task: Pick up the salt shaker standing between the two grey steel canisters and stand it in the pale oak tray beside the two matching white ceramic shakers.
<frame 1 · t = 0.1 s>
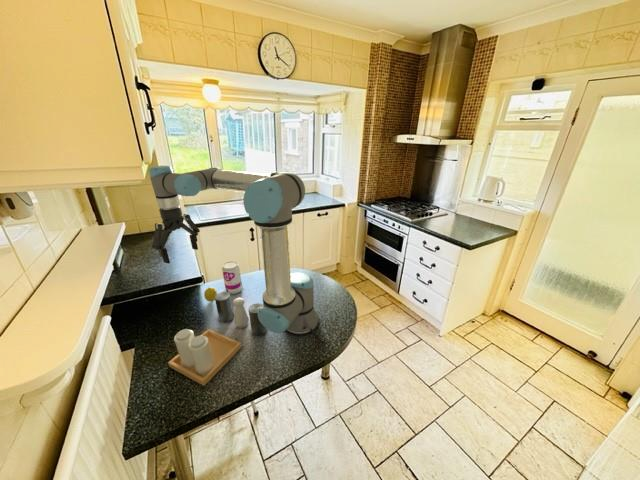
hand: (181, 255, 108), 28 cm above the table, tool pointing down, fingers open, 13 cm apart
grey canister far: (226, 318, 114), on the table
lemon: (212, 301, 125), on the table
grey canister near: (259, 331, 107), on the table
white shaker 2: (205, 368, 90), point 1 cm above the table, touching tray
tray: (207, 357, 95), on the table
salt shaker: (242, 324, 110), on the table
supplement can: (234, 290, 133), on the table
white shaker 1: (191, 361, 92), point 1 cm above the table, touching tray
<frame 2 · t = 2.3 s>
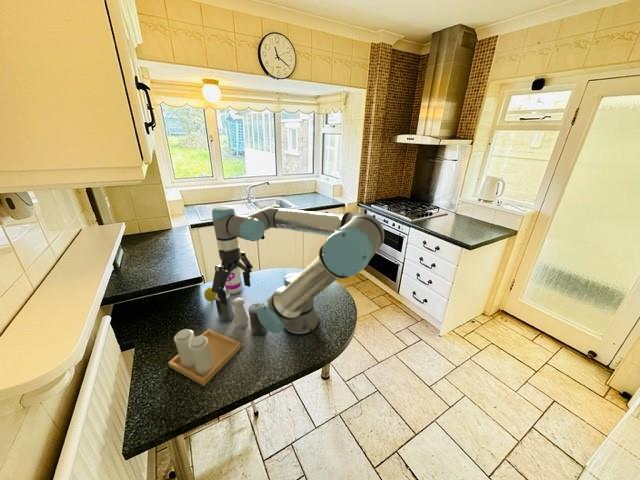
hand: (236, 294, 104), 16 cm above the table, tool pointing down, fingers open, 13 cm apart
nothing on the table moved.
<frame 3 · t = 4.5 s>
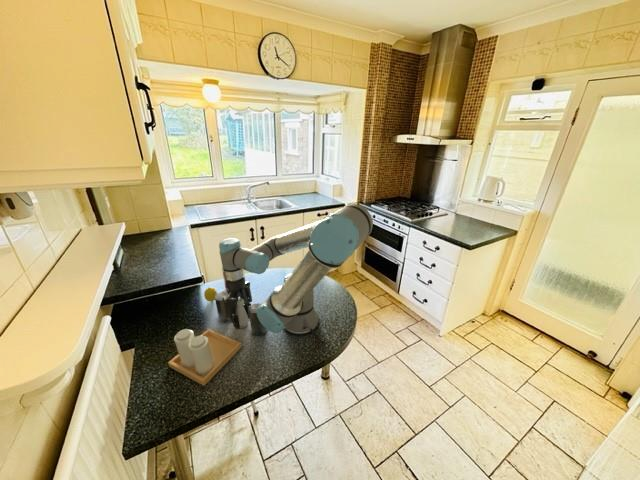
hand: (242, 322, 110), 1 cm above the table, tool pointing down, fingers closed on salt shaker, 6 cm apart
salt shaker: (242, 324, 110), on the table, touching gripper
everything else where it was.
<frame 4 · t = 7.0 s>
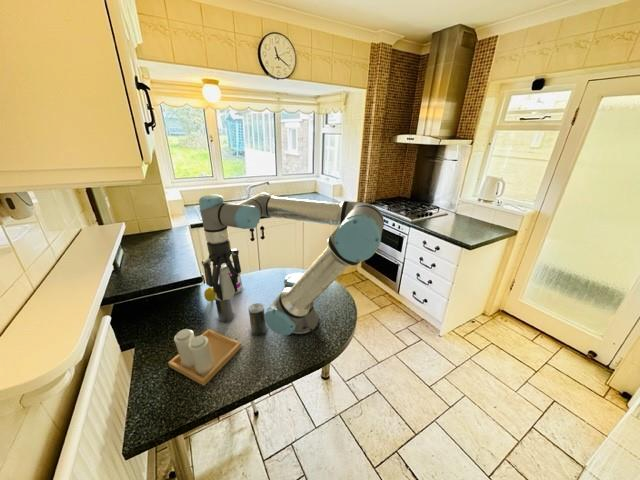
hand: (227, 294, 99), 19 cm above the table, tool pointing down, fingers closed on salt shaker, 6 cm apart
salt shaker: (228, 297, 99), point 18 cm above the table, touching gripper
everything else where it was.
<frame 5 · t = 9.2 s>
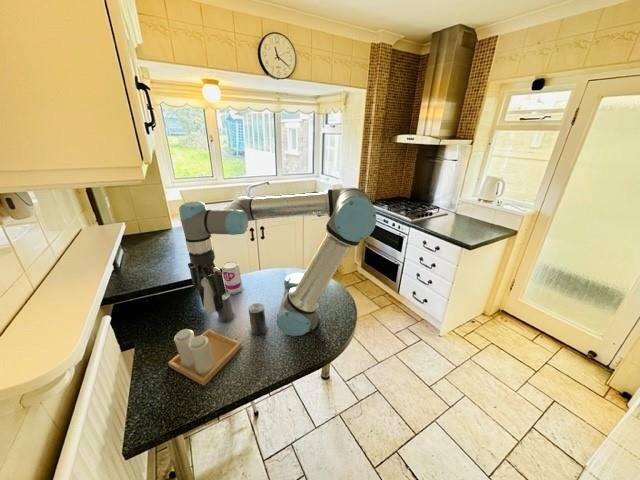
hand: (212, 306, 93), 18 cm above the table, tool pointing down, fingers closed on salt shaker, 6 cm apart
salt shaker: (213, 309, 93), point 17 cm above the table, touching gripper
everything else where it was.
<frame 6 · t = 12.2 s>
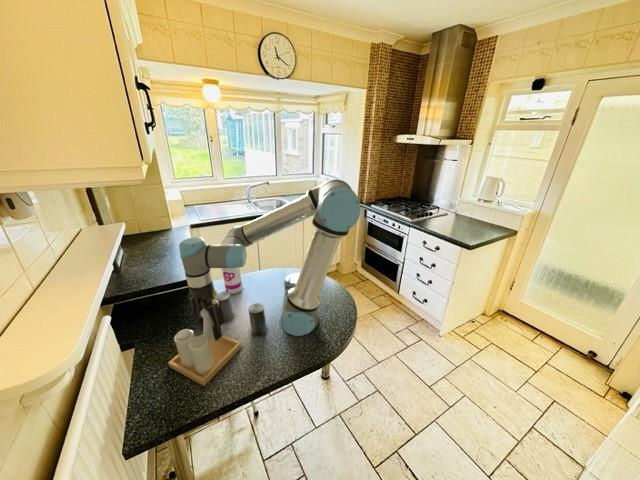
hand: (212, 335, 95), 7 cm above the table, tool pointing down, fingers closed on salt shaker, 6 cm apart
salt shaker: (212, 337, 95), point 6 cm above the table, touching gripper
everything else where it was.
when the fingers open (2 cm above the table, at t = 14.2 s): salt shaker stays where it is, resting on tray.
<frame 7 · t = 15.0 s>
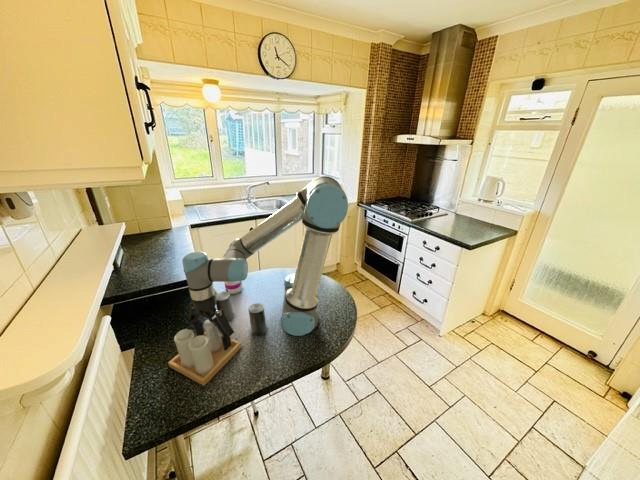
hand: (213, 341, 96), 4 cm above the table, tool pointing down, fingers open, 13 cm apart
salt shaker: (215, 348, 98), resting on tray
everything else where it was.
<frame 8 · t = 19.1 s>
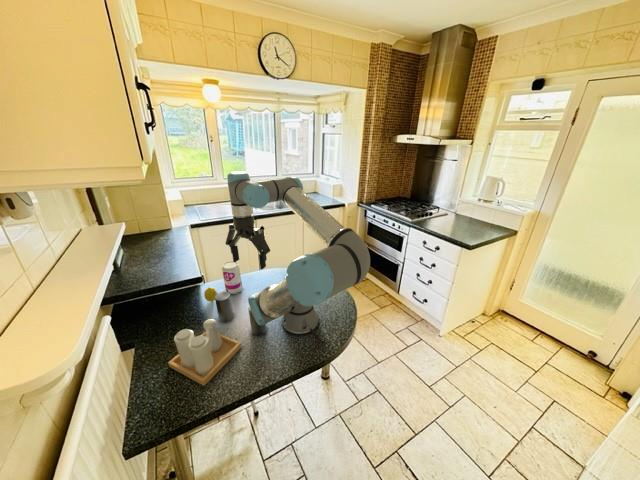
hand: (249, 264, 104), 27 cm above the table, tool pointing down, fingers open, 13 cm apart
grey canister near: (259, 331, 107), on the table, touching arm
everything else where it was.
at the end: salt shaker inside the target area in the tray (0.1 cm from its centre), point 0.4 cm above the tray's base; salt shaker tilted 0°; the gripper is holding nothing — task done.
